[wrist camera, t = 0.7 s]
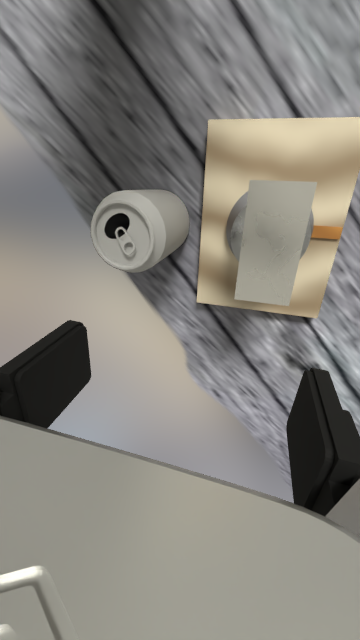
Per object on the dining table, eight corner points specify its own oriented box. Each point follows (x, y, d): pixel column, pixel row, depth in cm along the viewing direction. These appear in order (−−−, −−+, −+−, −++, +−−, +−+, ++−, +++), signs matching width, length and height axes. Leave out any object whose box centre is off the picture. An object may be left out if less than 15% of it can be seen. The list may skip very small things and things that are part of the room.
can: (168, 175, 32) (124, 169, 22) (202, 230, 34) (176, 250, 24) (124, 213, 36) (67, 224, 25) (157, 262, 37) (117, 291, 27)
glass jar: (240, 181, 28) (231, 179, 19) (313, 184, 27) (338, 182, 18) (229, 277, 33) (217, 310, 24) (291, 284, 31) (302, 321, 22)
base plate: (210, 122, 29) (206, 117, 27) (368, 120, 26) (378, 114, 24) (198, 298, 38) (195, 305, 36) (315, 313, 35) (318, 321, 32)
